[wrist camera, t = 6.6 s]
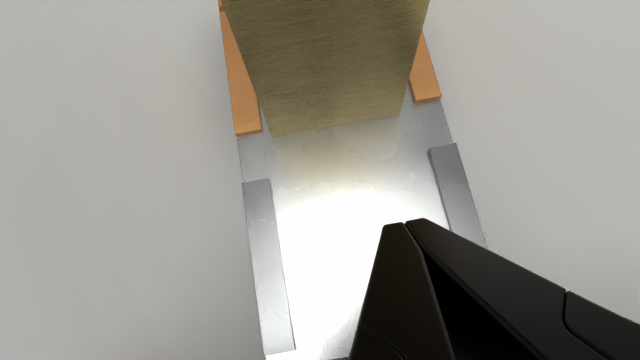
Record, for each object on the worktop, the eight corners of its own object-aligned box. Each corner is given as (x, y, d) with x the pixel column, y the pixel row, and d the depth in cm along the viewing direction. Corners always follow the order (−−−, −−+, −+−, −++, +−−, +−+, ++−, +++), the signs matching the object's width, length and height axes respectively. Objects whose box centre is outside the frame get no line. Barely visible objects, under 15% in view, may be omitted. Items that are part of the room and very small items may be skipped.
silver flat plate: (497, 326, 16) (511, 325, 14) (272, 369, 16) (266, 372, 14) (398, -15, 20) (401, -37, 19) (224, 16, 20) (217, -4, 19)
